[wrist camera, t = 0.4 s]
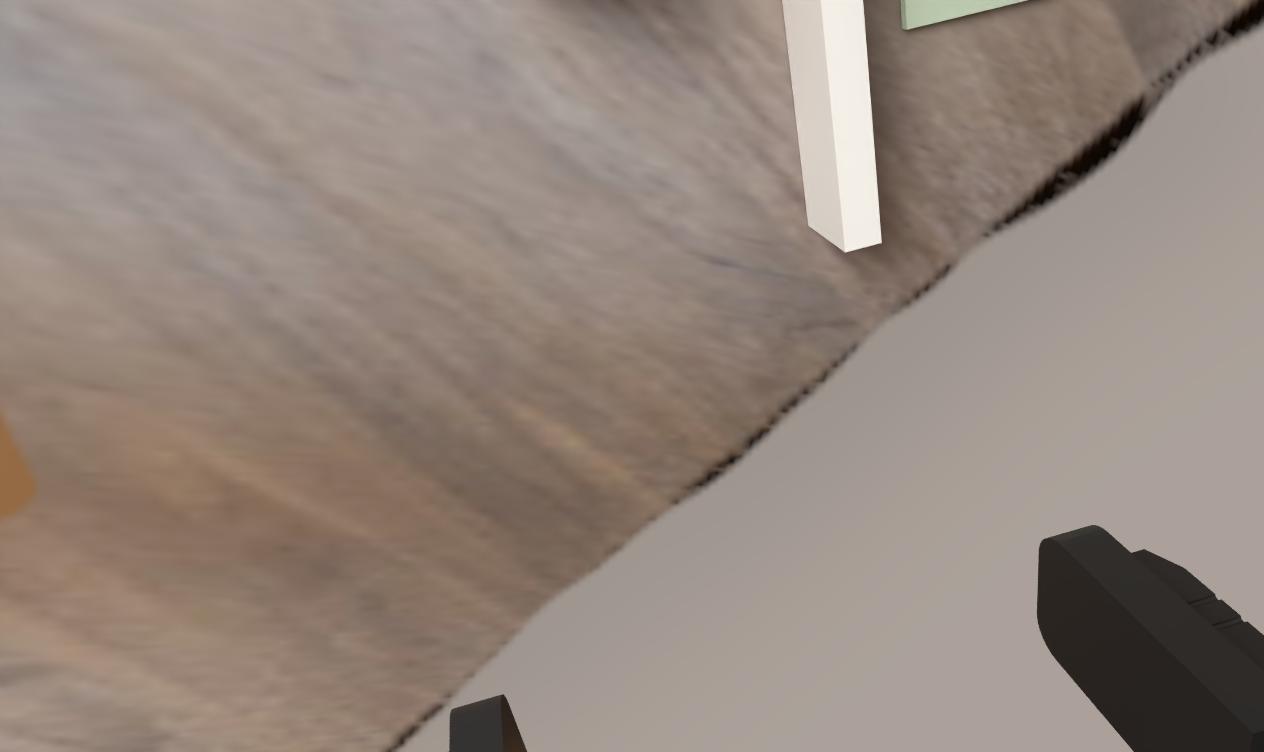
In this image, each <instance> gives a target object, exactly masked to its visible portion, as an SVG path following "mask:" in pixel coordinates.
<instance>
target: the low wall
mask: <svg viewBox="0 0 1264 752" xmlns="http://www.w3.org/2000/svg"><path fill="white" fill-rule="evenodd" d="M782 3H783V12H784V20H785V29H786V38H787V46H788V55H789V63H790V72H791V81H792V89H793V98H794V106H795V115H796V124H797V132H798V141H799V149H800V158H801V167H802V175H803V184H804V193H805V201H806V210H807V218H808V226H809V227H811V228H812V229H814V230H815V231H816V232H818V233H819V234H821V235H822V236H823V237H825V238H826V239H827V240H829V241H830V242H832V243H833V244H834V245H836V246H837V247H838V248H840V249H841V250H843V251H844V252H849V251H853V250H856V249H860V248H864V247H868V246H872V245H875V244H879V243H882V241H881V228H880V215H879V202H878V189H877V176H876V163H875V150H874V137H873V124H872V111H871V98H870V85H869V72H868V59H867V46H866V33H865V20H864V7H863V0H782Z"/></svg>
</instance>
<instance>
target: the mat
mask: <svg viewBox="0 0 1264 752" xmlns="http://www.w3.org/2000/svg"><path fill="white" fill-rule="evenodd" d="M1022 1H1026V0H901V16H902V29H905V30H908V29H912V28H916V27H920V26H924V25H928V24H932V23H936V22H940V21H945V20H949V19H953V18H957V17H961V16H965V15H969V14H973V13H977V12H981V11H985V10H990V9H994V8H998V7H1002V6H1006V5H1010V4H1014V3H1018V2H1022Z"/></svg>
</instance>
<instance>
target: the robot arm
mask: <svg viewBox="0 0 1264 752" xmlns="http://www.w3.org/2000/svg"><path fill="white" fill-rule="evenodd" d="M1038 565H1039V566H1038V597H1037V619H1038V624H1039V628H1040V631H1041V634H1042V636H1043V639H1044V641H1045V643H1046V645H1047V647H1048V649H1049V650H1050V652H1051V654H1052V655H1053V656H1054V658H1055V659H1056V660H1057V661H1058V662H1059V664H1060V665H1061V666H1062V667H1063V669H1064V670H1065V671H1066V672H1067V673H1068V674H1069V676H1070V677H1071V678H1072V679H1073V680H1074V682H1075V683H1076V684H1077V685H1078V686H1079V687H1080V688H1081V690H1082V691H1083V692H1084V693H1085V694H1086V696H1087V697H1088V698H1089V699H1090V700H1091V702H1092V703H1093V704H1094V705H1095V706H1096V708H1097V709H1098V710H1099V711H1100V712H1101V713H1102V714H1103V716H1104V717H1105V718H1106V719H1107V720H1108V722H1109V723H1110V724H1111V725H1112V726H1113V728H1114V729H1115V730H1116V731H1117V732H1118V733H1119V734H1120V736H1121V737H1122V738H1123V739H1124V740H1125V742H1126V743H1127V744H1128V745H1129V746H1130V748H1131V749H1132V750H1133V751H1134V752H1264V635H1263V634H1262V633H1260V632H1259V631H1258V630H1257V629H1256V628H1254V627H1253V626H1252V625H1251V624H1250V623H1249V622H1243V621H1242V619H1241V616H1240V615H1239V614H1238V613H1237V612H1236V611H1234V610H1233V609H1232V608H1231V607H1230V606H1229V605H1227V604H1226V603H1225V602H1224V601H1222V600H1218V599H1217V598H1216V596H1215V594H1214V593H1213V592H1212V591H1211V590H1210V589H1208V588H1207V587H1206V586H1205V585H1204V584H1202V583H1201V582H1200V581H1199V580H1198V579H1197V578H1195V577H1194V576H1193V575H1192V574H1191V573H1190V572H1188V571H1187V570H1186V569H1184V568H1183V567H1181V566H1179V565H1177V564H1174V563H1172V562H1170V561H1168V560H1166V559H1164V558H1162V557H1160V556H1158V555H1155V554H1153V553H1151V552H1149V551H1147V550H1145V549H1143V550H1140V551H1137V552H1133V553H1131V552H1129V551H1128V550H1127V549H1126V548H1125V547H1124V546H1123V545H1122V544H1120V543H1119V542H1118V541H1117V540H1115V538H1114V537H1113V536H1111V535H1110V534H1109V533H1108V532H1107V531H1106V530H1104V529H1103V528H1101V527H1099V526H1096V525H1091V526H1087V527H1084V528H1080V529H1077V530H1074V531H1070V532H1067V533H1063V534H1060V535H1056V536H1053V537H1049V538H1046V539H1044V540H1042V542H1041V543H1040V547H1039V564H1038ZM449 752H527V750H526V748H525V745H524V742H523V740H522V737H521V735H520V732H519V729H518V727H517V724H516V722H515V719H514V716H513V714H512V711H511V709H510V706H509V703H508V701H507V699H506V697H505V696H504V695H503V694H502V695H499V696H495V697H492V698H489V699H485V700H482V701H479V702H475V703H472V704H468V705H464V706H461V707H458V708H454V709H452V710H451V713H450V751H449Z"/></svg>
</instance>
